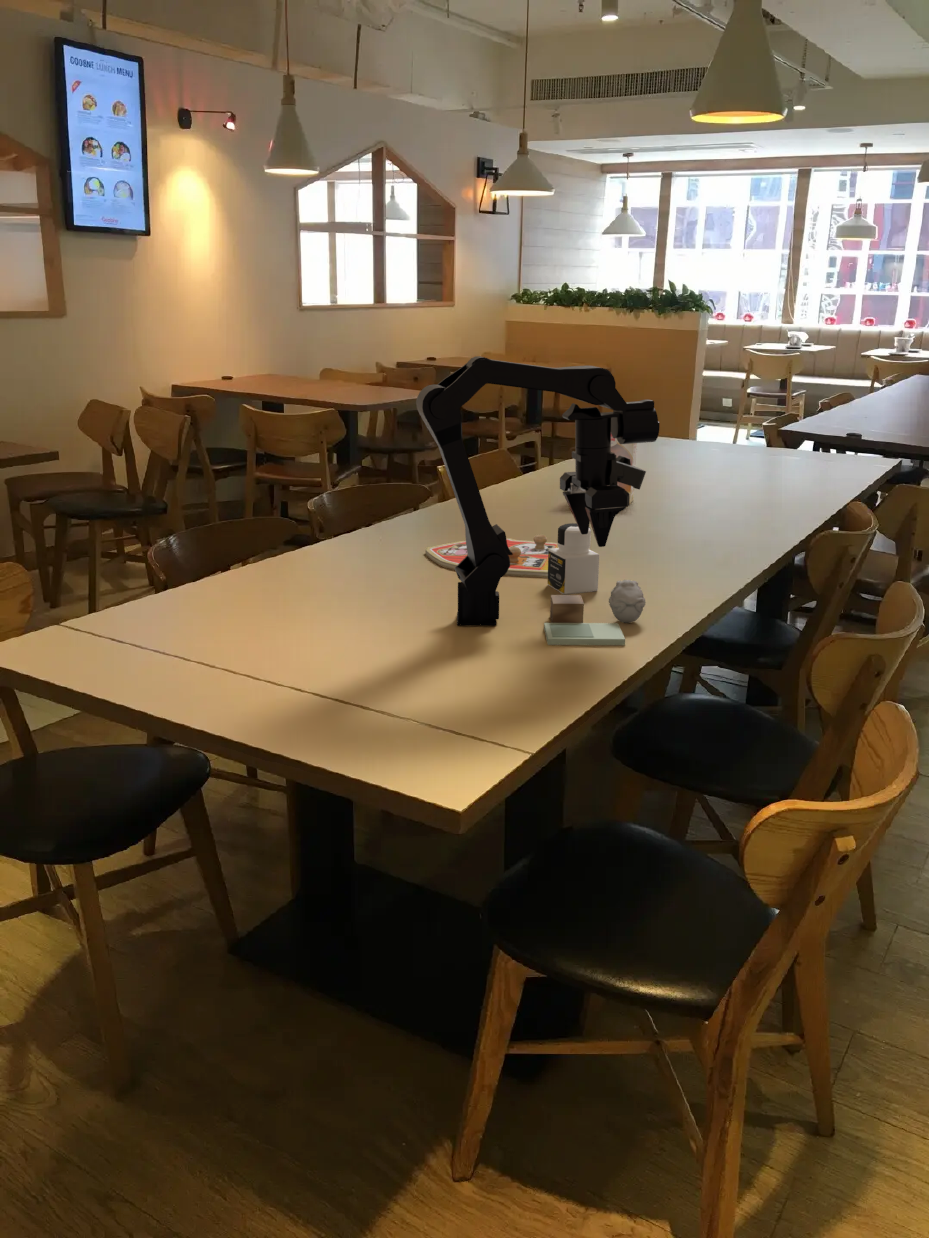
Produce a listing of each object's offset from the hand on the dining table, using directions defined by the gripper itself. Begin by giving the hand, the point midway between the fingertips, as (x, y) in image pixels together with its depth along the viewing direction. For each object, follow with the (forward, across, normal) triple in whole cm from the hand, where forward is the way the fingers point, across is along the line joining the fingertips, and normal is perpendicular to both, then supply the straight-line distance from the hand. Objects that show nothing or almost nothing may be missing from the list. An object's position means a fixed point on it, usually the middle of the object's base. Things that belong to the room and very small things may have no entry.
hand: (592, 540), depth 165 cm
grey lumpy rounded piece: (+13, -5, -4) cm, 15 cm away
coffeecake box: (+15, +96, -34) cm, 103 cm away
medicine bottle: (+13, +16, -1) cm, 21 cm away
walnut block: (+13, -3, +6) cm, 14 cm away
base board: (+13, -11, +5) cm, 18 cm away
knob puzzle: (+13, +41, +8) cm, 44 cm away
